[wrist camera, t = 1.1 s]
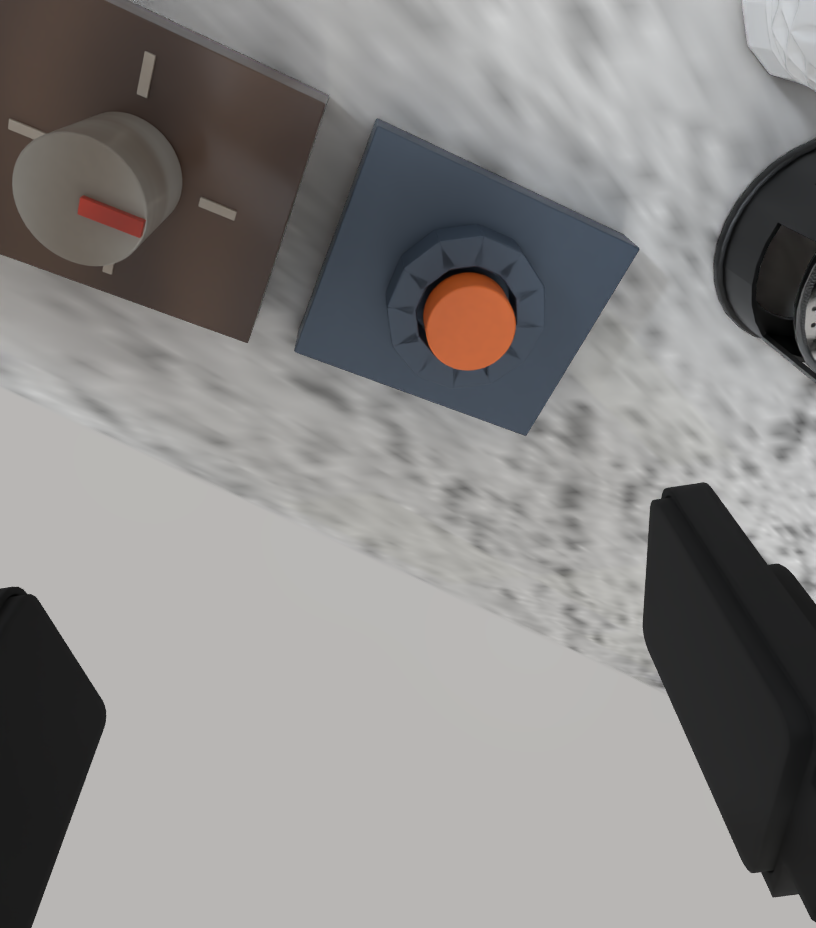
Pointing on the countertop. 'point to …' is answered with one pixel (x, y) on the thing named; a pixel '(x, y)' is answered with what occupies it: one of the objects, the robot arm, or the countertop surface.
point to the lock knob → (97, 187)
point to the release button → (468, 321)
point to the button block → (448, 253)
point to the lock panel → (187, 130)
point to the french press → (744, 246)
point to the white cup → (783, 37)
